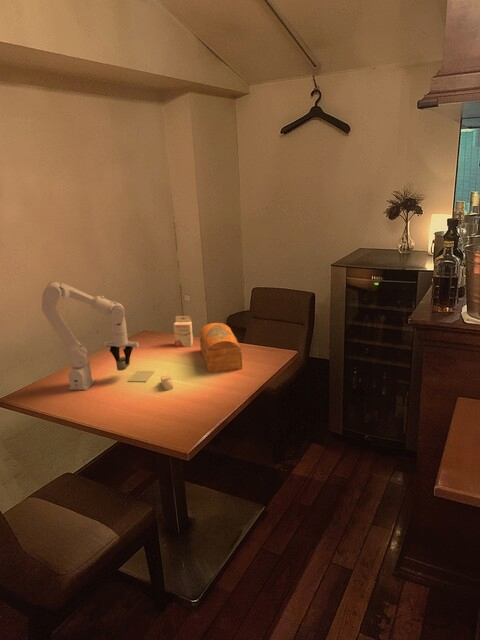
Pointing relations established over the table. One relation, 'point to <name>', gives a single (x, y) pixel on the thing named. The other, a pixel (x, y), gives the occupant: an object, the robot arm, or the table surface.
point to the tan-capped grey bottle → (121, 364)
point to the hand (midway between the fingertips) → (123, 363)
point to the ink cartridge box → (183, 331)
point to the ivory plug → (166, 382)
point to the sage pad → (141, 376)
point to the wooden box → (220, 348)
